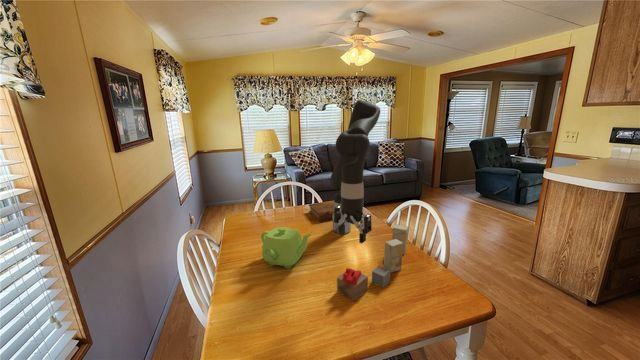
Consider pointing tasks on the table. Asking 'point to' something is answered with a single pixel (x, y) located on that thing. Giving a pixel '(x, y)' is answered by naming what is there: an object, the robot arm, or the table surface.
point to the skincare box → (393, 255)
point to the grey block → (381, 276)
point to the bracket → (349, 278)
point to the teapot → (283, 246)
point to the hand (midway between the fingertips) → (351, 238)
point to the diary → (322, 210)
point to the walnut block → (352, 287)
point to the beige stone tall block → (400, 235)
